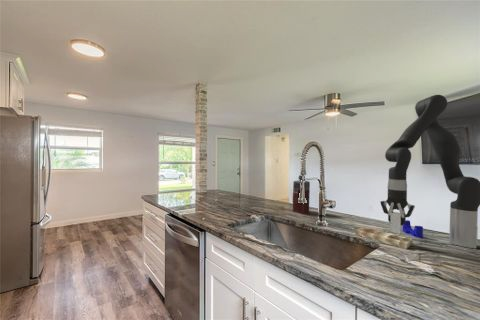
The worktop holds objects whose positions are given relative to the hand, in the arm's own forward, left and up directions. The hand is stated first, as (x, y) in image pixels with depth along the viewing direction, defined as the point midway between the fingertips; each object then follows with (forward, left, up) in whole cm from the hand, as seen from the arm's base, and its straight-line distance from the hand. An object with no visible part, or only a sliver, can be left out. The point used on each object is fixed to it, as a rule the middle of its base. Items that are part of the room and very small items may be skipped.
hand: (396, 223), depth 103 cm
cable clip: (0, -24, -10) cm, 26 cm away
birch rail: (+6, 0, -9) cm, 11 cm away
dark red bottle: (+64, -12, -10) cm, 66 cm away
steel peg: (0, 0, -4) cm, 4 cm away
